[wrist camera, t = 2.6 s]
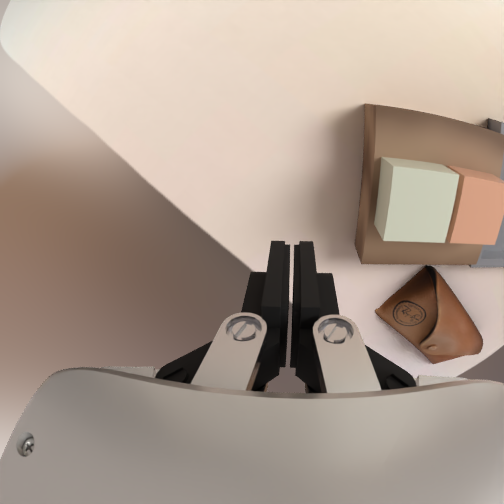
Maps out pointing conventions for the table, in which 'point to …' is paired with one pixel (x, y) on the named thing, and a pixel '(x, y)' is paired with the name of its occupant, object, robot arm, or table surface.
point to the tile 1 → (476, 208)
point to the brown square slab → (426, 150)
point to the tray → (500, 252)
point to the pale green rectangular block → (414, 200)
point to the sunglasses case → (432, 318)
